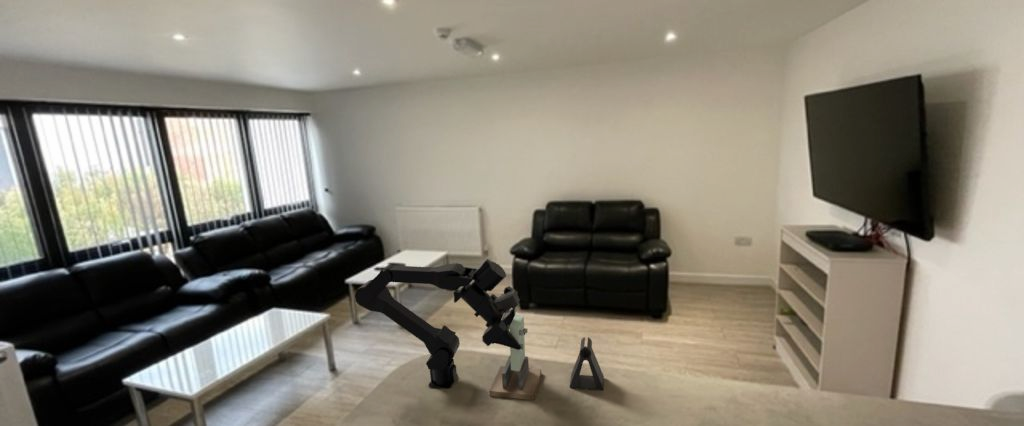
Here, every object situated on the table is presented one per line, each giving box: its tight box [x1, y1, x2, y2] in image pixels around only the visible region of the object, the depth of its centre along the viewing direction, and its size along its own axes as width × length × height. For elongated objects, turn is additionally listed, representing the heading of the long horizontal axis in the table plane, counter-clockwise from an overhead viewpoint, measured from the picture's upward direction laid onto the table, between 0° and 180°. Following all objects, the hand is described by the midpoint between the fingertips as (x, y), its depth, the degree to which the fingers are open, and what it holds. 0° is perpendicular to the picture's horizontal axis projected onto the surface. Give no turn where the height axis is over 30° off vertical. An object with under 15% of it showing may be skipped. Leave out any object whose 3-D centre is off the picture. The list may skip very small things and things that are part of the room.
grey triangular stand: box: [569, 337, 605, 391], centre depth 115 cm, size 9×6×12 cm, turn 77°
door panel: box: [509, 314, 528, 371], centre depth 114 cm, size 3×7×12 cm, turn 167°
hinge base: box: [488, 355, 542, 401], centre depth 117 cm, size 12×12×6 cm
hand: (522, 341), depth 114 cm, fingers closed on door panel, 7 cm apart
